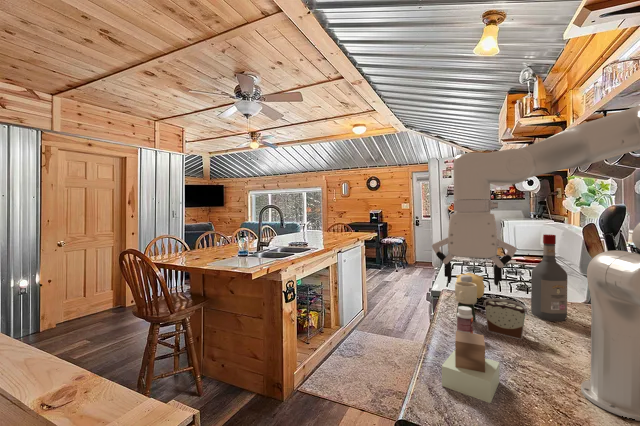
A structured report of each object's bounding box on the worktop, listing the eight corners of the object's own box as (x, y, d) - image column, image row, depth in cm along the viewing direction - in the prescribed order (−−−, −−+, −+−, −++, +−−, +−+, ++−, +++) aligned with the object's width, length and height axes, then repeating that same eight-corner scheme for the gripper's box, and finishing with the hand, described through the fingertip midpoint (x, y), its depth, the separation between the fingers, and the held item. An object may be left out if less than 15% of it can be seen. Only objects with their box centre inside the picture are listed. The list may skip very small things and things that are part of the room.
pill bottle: (475, 337, 95) (475, 311, 95) (458, 336, 96) (458, 310, 96) (470, 331, 100) (470, 306, 100) (455, 330, 101) (455, 305, 100)
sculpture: (483, 294, 139) (483, 271, 139) (485, 302, 128) (485, 277, 128) (455, 292, 144) (455, 269, 143) (455, 299, 133) (455, 275, 132)
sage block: (499, 383, 72) (499, 362, 72) (490, 405, 64) (490, 381, 64) (454, 368, 78) (454, 349, 78) (441, 387, 70) (441, 365, 70)
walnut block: (483, 360, 73) (483, 335, 73) (485, 372, 67) (485, 345, 67) (455, 355, 75) (455, 331, 75) (455, 366, 70) (455, 340, 70)
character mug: (461, 313, 116) (461, 279, 116) (481, 318, 111) (481, 282, 111) (449, 321, 108) (449, 285, 108) (470, 327, 103) (470, 289, 103)
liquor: (571, 321, 107) (572, 236, 106) (544, 321, 107) (545, 236, 106) (552, 312, 116) (553, 233, 115) (527, 312, 116) (528, 233, 116)
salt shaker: (475, 307, 123) (475, 275, 123) (473, 311, 118) (474, 278, 118) (459, 304, 126) (459, 273, 126) (457, 308, 121) (457, 276, 121)
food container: (531, 334, 97) (531, 303, 97) (527, 341, 92) (527, 308, 92) (488, 324, 105) (488, 295, 105) (482, 330, 101) (482, 300, 100)
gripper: (514, 207, 69) (514, 281, 70) (433, 208, 77) (434, 275, 78) (518, 207, 63) (518, 290, 63) (429, 208, 70) (430, 282, 71)
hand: (472, 282), depth 70 cm, fingers open, 9 cm apart
